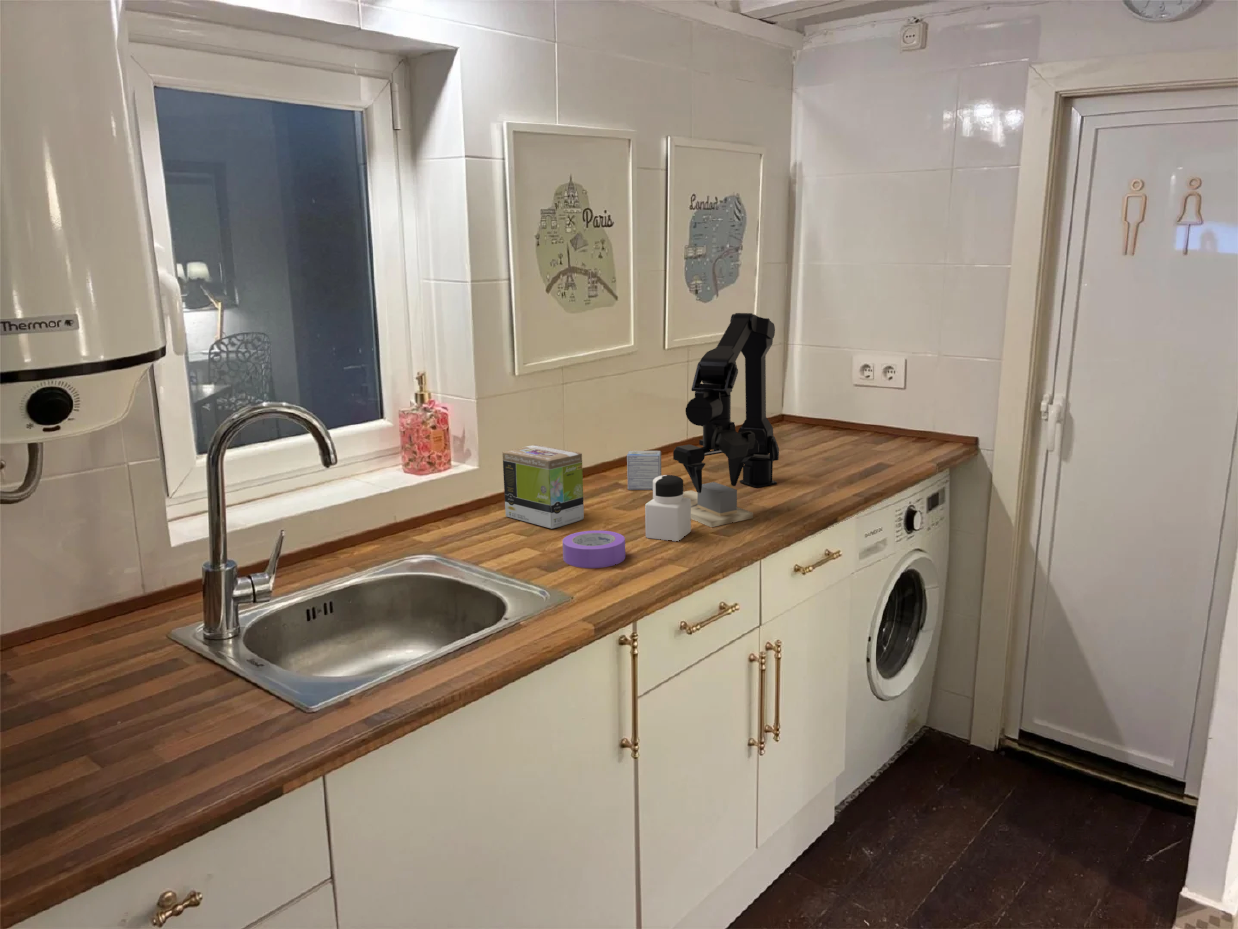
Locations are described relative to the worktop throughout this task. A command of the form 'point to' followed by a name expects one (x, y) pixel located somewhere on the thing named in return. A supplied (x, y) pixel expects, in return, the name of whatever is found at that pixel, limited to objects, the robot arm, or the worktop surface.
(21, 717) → the worktop surface
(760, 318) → the robot arm
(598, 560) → the masking tape
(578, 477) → the tea box
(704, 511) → the board
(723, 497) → the block
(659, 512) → the medicine bottle
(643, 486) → the medicine box
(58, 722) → the worktop surface
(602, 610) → the worktop surface
